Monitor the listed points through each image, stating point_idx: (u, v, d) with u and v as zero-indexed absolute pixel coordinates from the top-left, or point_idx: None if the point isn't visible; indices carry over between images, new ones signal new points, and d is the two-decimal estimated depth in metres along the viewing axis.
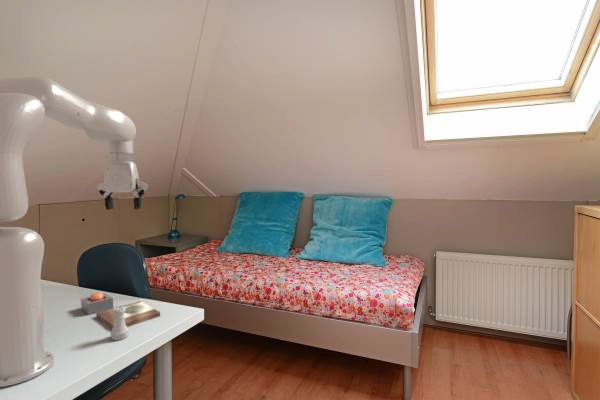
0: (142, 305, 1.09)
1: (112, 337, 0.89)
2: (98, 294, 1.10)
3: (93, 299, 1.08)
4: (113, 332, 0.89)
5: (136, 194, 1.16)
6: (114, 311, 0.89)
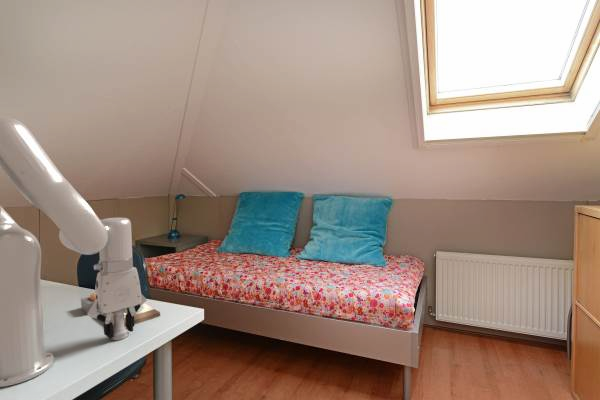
0: (142, 305, 1.09)
1: None
2: None
3: (93, 299, 1.08)
4: (113, 332, 0.89)
5: (133, 312, 0.92)
6: None
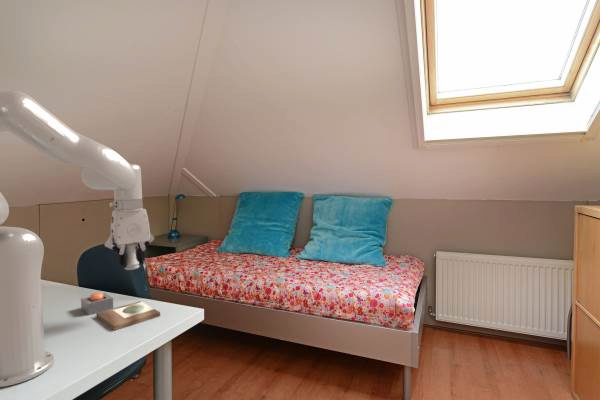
0: (142, 305, 1.09)
1: (125, 267, 1.03)
2: (98, 294, 1.10)
3: (93, 299, 1.08)
4: (126, 263, 1.02)
5: (143, 247, 1.05)
6: (127, 244, 1.02)
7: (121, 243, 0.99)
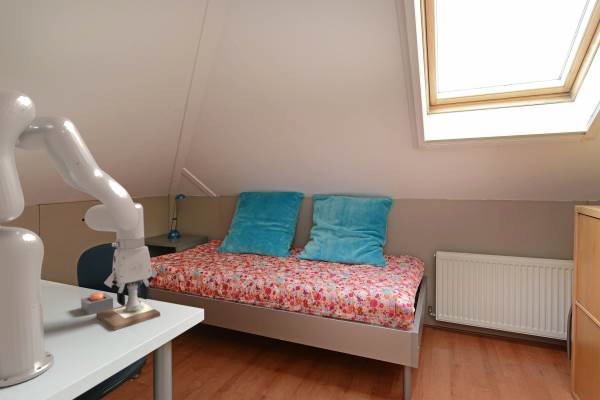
0: (142, 305, 1.09)
1: (127, 309, 1.04)
2: (98, 294, 1.10)
3: (93, 299, 1.08)
4: (128, 305, 1.04)
5: (147, 282, 1.07)
6: (129, 286, 1.04)
7: (123, 282, 1.00)
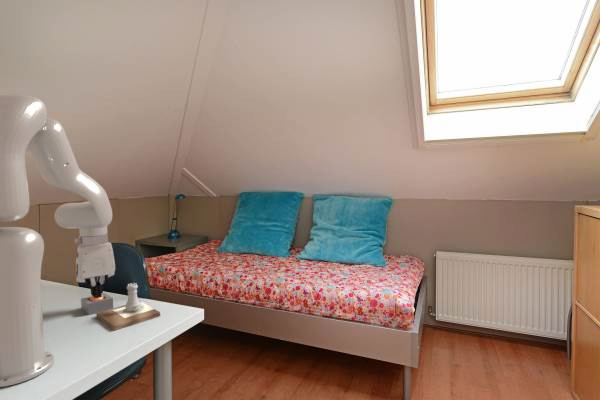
0: (142, 305, 1.09)
1: (127, 309, 1.04)
2: None
3: None
4: (128, 305, 1.04)
5: (102, 280, 1.10)
6: (128, 287, 1.04)
7: (85, 277, 1.05)
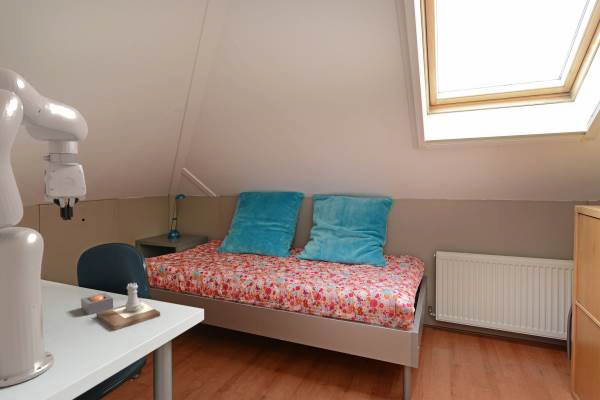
0: (142, 305, 1.09)
1: (127, 309, 1.04)
2: (98, 296, 1.10)
3: None
4: (128, 305, 1.04)
5: (72, 203, 1.06)
6: (128, 287, 1.04)
7: (53, 195, 1.01)
